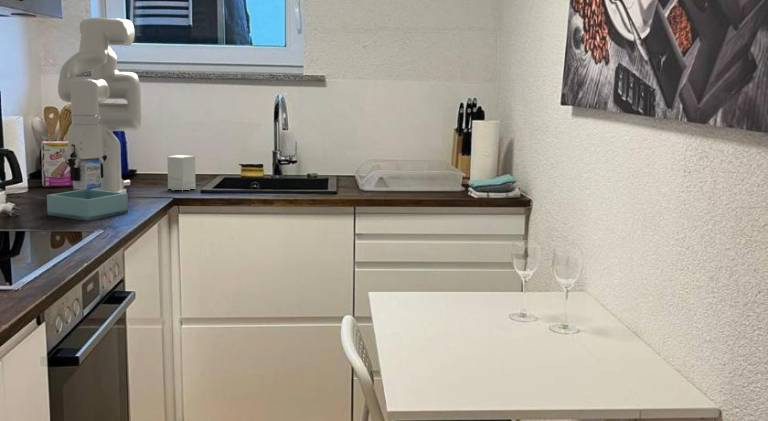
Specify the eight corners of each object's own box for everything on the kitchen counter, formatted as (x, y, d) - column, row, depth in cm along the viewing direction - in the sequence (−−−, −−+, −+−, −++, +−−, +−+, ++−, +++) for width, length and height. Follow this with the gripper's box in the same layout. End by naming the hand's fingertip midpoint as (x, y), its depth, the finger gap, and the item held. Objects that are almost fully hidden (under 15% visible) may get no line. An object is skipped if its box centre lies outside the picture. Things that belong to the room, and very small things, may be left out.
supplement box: (196, 189, 283) (195, 155, 280) (182, 191, 276) (182, 157, 274) (181, 187, 286) (180, 154, 284) (167, 189, 279) (166, 155, 277)
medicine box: (86, 190, 222) (85, 161, 221) (72, 189, 223) (71, 160, 222) (101, 187, 230) (100, 158, 228) (88, 186, 231) (87, 158, 229)
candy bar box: (43, 187, 275) (42, 142, 272) (42, 185, 279) (40, 141, 276) (76, 186, 281) (75, 142, 278) (74, 184, 285) (72, 140, 282)
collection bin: (88, 207, 238) (87, 188, 237) (128, 212, 232) (127, 193, 231) (47, 215, 224) (46, 195, 223) (88, 220, 217) (87, 200, 216)
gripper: (97, 119, 232) (99, 175, 235) (52, 121, 217) (54, 181, 219) (116, 120, 229) (117, 177, 232) (72, 122, 214) (74, 183, 217)
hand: (87, 179), depth 226 cm, fingers closed on medicine box, 8 cm apart
